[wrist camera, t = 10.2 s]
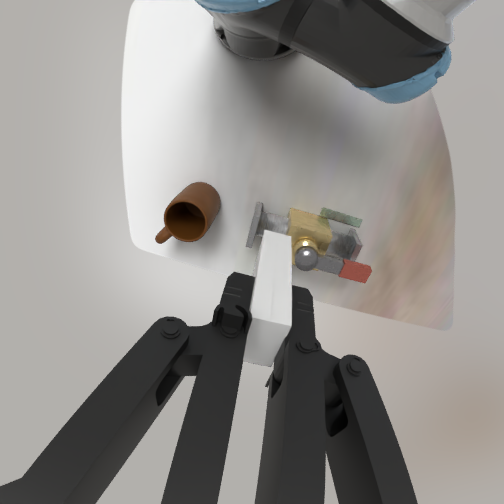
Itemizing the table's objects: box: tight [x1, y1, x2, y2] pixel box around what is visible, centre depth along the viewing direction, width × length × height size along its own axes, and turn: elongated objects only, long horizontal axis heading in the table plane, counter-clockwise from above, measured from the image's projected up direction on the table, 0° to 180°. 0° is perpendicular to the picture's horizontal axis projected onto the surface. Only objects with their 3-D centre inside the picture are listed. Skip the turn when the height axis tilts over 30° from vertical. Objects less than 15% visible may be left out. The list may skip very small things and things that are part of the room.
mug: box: [155, 182, 220, 244], centre depth 46 cm, size 12×8×9 cm, turn 126°
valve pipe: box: [246, 202, 362, 271], centre depth 46 cm, size 9×20×9 cm, turn 77°
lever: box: [295, 246, 372, 283], centre depth 42 cm, size 13×4×2 cm, turn 77°
